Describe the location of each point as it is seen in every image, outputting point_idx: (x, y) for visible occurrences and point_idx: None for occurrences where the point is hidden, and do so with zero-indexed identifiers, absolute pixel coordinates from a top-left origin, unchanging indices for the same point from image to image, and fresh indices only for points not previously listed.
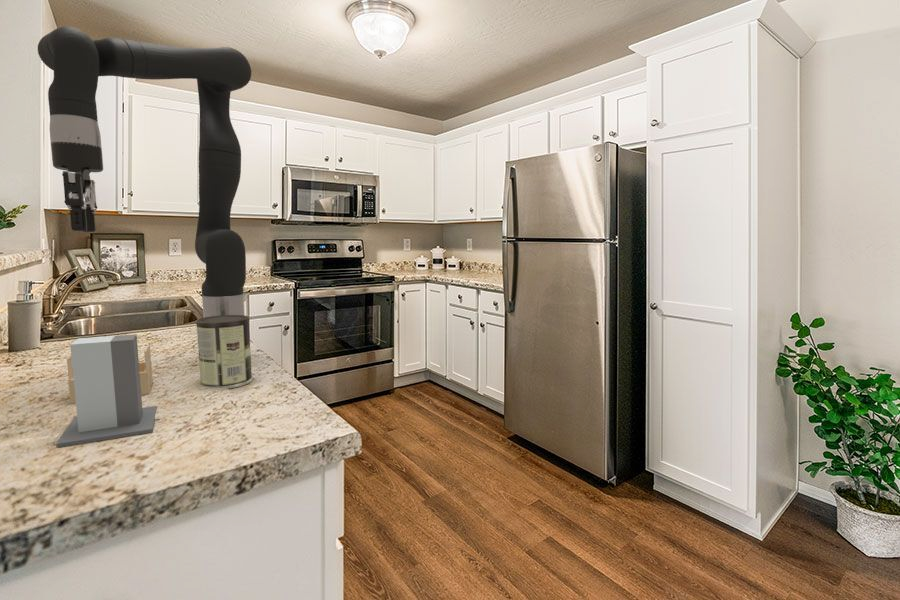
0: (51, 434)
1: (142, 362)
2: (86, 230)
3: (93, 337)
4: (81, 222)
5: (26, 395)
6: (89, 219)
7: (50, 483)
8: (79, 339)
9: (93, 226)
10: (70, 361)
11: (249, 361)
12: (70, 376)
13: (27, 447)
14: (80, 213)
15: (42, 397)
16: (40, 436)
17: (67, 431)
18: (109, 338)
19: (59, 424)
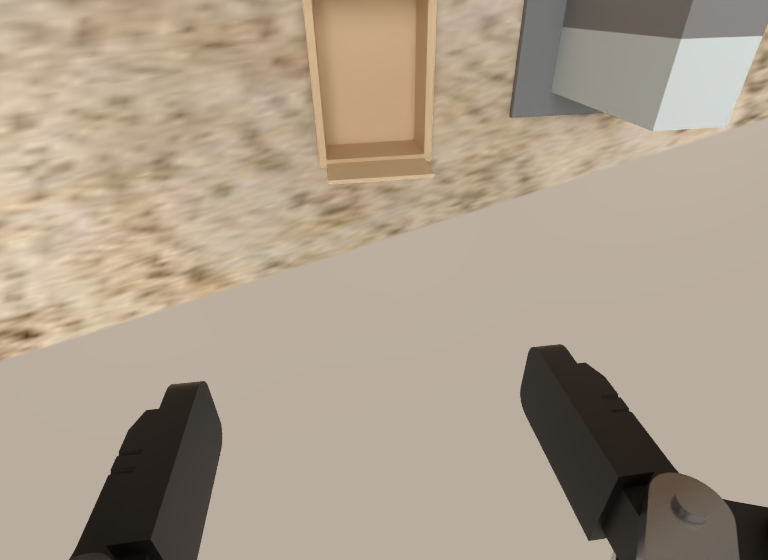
0: (561, 134)
1: (306, 13)
2: (213, 420)
3: (665, 94)
4: (610, 394)
5: (299, 241)
6: (184, 490)
7: (760, 81)
8: (670, 122)
9: (196, 414)
10: (420, 170)
11: None
12: (425, 160)
13: (599, 151)
14: (662, 456)
15: (325, 211)
16: (560, 147)
17: (586, 109)
18: (714, 47)
19: (515, 136)
